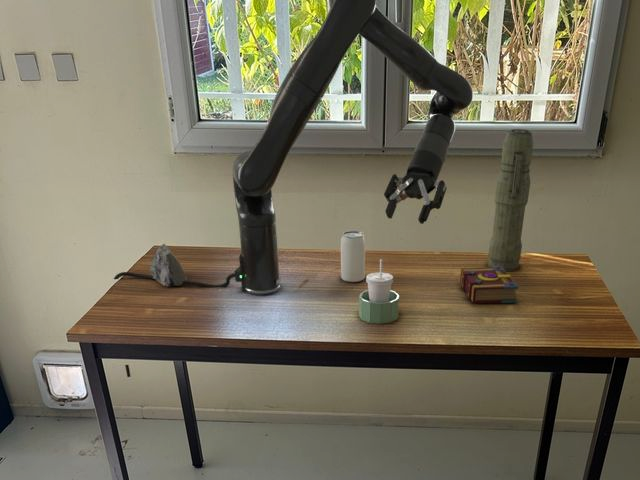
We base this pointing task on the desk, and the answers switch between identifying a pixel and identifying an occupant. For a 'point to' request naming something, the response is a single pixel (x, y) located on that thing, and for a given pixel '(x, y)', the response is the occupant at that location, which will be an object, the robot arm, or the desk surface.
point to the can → (352, 256)
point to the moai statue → (511, 200)
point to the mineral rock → (167, 268)
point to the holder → (378, 308)
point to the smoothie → (379, 286)
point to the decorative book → (488, 285)
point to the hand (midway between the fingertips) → (404, 219)
